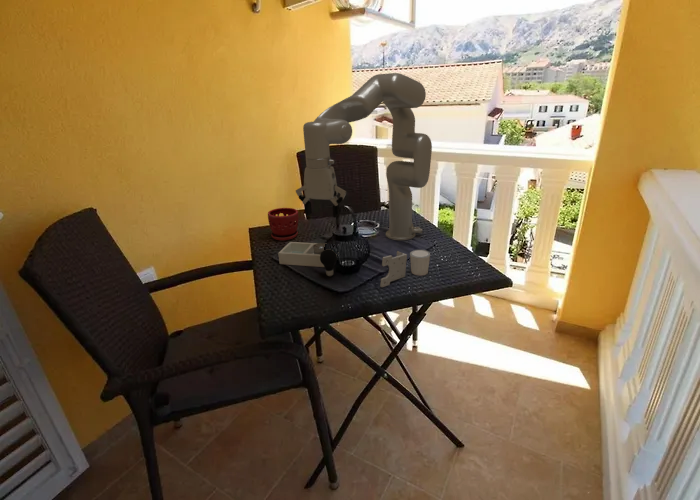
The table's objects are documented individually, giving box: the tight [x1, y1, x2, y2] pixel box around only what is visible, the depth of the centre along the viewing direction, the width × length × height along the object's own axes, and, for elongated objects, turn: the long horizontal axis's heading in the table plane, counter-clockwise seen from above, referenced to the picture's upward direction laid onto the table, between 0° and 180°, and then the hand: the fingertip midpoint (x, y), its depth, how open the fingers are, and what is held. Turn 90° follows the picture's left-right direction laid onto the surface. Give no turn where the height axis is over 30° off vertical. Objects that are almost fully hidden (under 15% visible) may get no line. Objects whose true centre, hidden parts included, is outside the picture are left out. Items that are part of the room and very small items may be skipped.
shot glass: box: [409, 249, 431, 276], centre depth 128 cm, size 7×7×7 cm
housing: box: [277, 241, 326, 268], centre depth 142 cm, size 20×11×6 cm, turn 75°
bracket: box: [379, 250, 408, 288], centre depth 123 cm, size 11×4×10 cm, turn 132°
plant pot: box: [267, 207, 300, 241], centre depth 164 cm, size 13×13×12 cm
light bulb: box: [320, 249, 338, 277], centre depth 128 cm, size 6×6×10 cm
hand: (322, 215), depth 124 cm, fingers open, 9 cm apart
